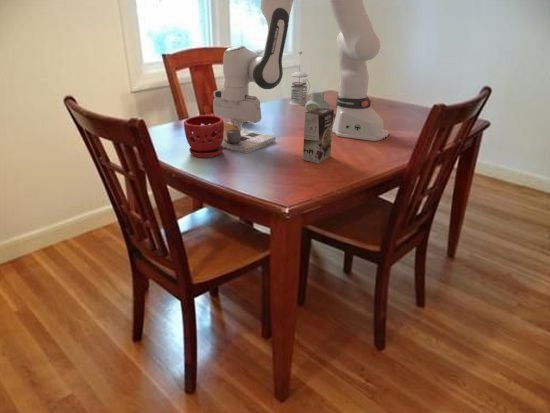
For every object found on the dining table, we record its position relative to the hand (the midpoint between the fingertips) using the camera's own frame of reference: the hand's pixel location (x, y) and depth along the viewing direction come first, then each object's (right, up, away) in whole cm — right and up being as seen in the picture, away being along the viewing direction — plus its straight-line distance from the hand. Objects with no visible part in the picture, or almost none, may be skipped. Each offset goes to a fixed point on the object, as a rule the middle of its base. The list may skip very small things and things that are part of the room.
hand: (237, 130), depth 169 cm
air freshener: (+33, +15, +40) cm, 54 cm away
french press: (+26, +23, +58) cm, 68 cm away
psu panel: (+3, -5, -3) cm, 7 cm away
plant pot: (-10, -10, -14) cm, 20 cm away
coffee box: (+28, -12, -16) cm, 35 cm away
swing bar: (-3, -3, -4) cm, 5 cm away
